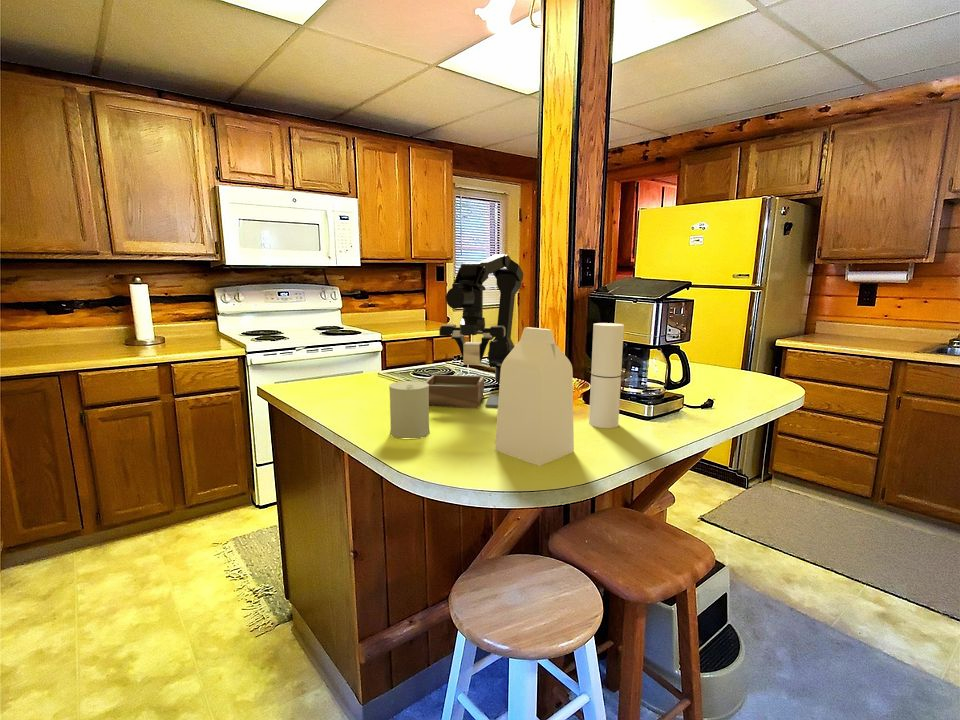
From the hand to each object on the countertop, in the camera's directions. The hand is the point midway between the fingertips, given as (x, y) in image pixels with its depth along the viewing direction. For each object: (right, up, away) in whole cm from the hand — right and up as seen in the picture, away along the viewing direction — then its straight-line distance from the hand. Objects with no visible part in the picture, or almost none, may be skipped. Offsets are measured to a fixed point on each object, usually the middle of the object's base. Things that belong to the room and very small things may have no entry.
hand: (472, 360), depth 146 cm
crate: (-5, -12, 0) cm, 13 cm away
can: (-14, -17, -30) cm, 37 cm away
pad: (+8, -12, -1) cm, 15 cm away
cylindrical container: (+33, -16, -21) cm, 43 cm away
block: (0, -1, 0) cm, 1 cm away
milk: (+14, -19, -41) cm, 47 cm away
